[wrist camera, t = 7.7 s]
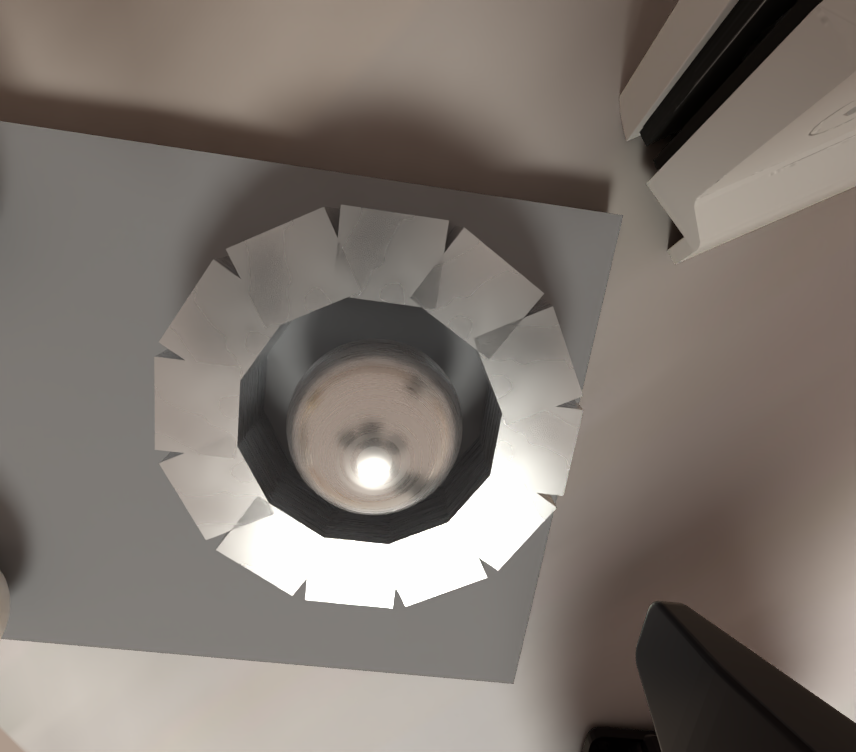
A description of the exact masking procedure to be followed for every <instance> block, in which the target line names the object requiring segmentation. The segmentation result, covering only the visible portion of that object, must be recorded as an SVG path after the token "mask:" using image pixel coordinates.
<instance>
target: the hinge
mask: <svg viewBox="0 0 856 752" xmlns="http://www.w3.org/2000/svg"><path fill="white" fill-rule="evenodd" d="M619 103H620V116H621V120H622V125H623V130H624V134H625V139H626V141H629V140H631V139H633V138H636V137H638V136H640V135H641V136H642V138H643V140H644V142H645V144H646V146H647V145H649V144H651V143H653V142H655V141H658V140H660V139H662V138H664V137H666V136H668V135H671V134H673V133H675V132H677V131H679V130H680V132H679V133H678V134H677V135H676V136H675V137H674V138H673V139H672V140H671V142H670V143H669V144H668V145H667V146H666V147H665V148H664V149H663V150H662V152H661V153H660V154H659V155H658V156H657V157H656V158H655V159H654V160H653V162H654V164H655V166H656V168H657V170H658V172H657V173H656V174H655V175H654V176H653V177H652V178H651V179H650V180H649V181H648V182H647V183H646V185H647V186H648V187H649V189H650V190H651V192H652V193H653V194H654V196H655V197H656V198H657V200H658V201H659V203H660V204H661V205H662V207H663V208H664V209H665V211H666V212H667V214H668V215H669V216H670V218H671V219H672V221H673V222H674V223H675V225H676V226H677V227H678V229H679V230H680V232H681V233H682V234H683V236H684V237H683V238H682V239H681V240H679V241H678V242H677V243H675V244H674V245H673V246H672V247H670V248H669V249H668V250H667V251H668V253H669V255H670V257H671V259H672V260H673V262H674V264H675V265H676V264H678V263H680V262H682V261H685V260H687V259H689V258H692V257H694V256H696V255H699V254H701V253H703V252H706V251H708V250H710V249H712V248H715V247H717V246H719V245H722V244H724V243H726V242H729V241H731V240H733V239H736V238H738V237H740V236H743V235H745V234H747V233H749V232H752V231H754V230H756V229H759V228H761V227H763V226H766V225H768V224H770V223H773V222H775V221H777V220H779V219H782V218H784V217H786V216H789V215H791V214H793V213H796V212H798V211H800V210H803V209H805V208H807V207H809V206H812V205H814V204H816V203H819V202H821V201H823V200H826V199H828V198H830V197H833V196H835V195H837V194H840V193H842V192H844V191H846V190H849V189H851V188H853V187H856V0H679V1H678V3H677V4H676V6H675V8H674V9H673V11H672V12H671V14H670V16H669V17H668V19H667V21H666V22H665V24H664V25H663V27H662V29H661V30H660V32H659V33H658V35H657V37H656V38H655V40H654V42H653V43H652V45H651V46H650V48H649V50H648V51H647V53H646V54H645V56H644V58H643V59H642V61H641V63H640V64H639V66H638V67H637V69H636V71H635V72H634V74H633V75H632V77H631V79H630V80H629V82H628V83H627V85H626V87H625V88H624V90H623V92H622V93H621V95H620V96H619Z"/></svg>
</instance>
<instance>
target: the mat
mask: <svg viewBox="0 0 856 752" xmlns="http://www.w3.org/2000/svg"><path fill="white" fill-rule="evenodd" d="M341 205H348V206H354V207H361V208H368V209H375V210H381V211H388V212H395V213H402V214H409V215H415V216H422V217H429V218H436V219H443V220H449V223H448V230H447V236H448V235H449V233H450V232H451V231H452V229H453V228H454V227H455V226H460V227H465V228H466V229H467V230H468V231H469V232H471V233H472V234H473V235H474V236H475V237H477V238H478V239H479V240H480V241H481V242H483V243H484V244H485V245H486V246H487V247H489V248H490V249H491V250H492V251H494V252H495V253H496V254H497V255H498V256H500V257H501V258H502V259H503V260H504V261H506V262H507V263H508V264H509V265H510V266H512V267H513V268H514V269H515V270H517V271H518V272H519V273H520V274H521V275H523V276H524V277H525V278H526V279H527V280H529V281H530V282H531V283H532V284H533V285H535V286H536V287H537V288H538V289H540V290H541V291H542V292H543V293H544V294H543V296H542V297H541V299H542V300H544V301H546V302H547V303H549V304H550V305H552V306H553V308H554V311H555V314H556V317H557V320H558V323H559V326H560V329H561V332H562V335H563V337H564V340H565V343H566V346H567V349H568V352H569V355H570V358H571V361H572V364H573V367H574V370H575V373H576V376H577V379H578V382H579V385H580V388H581V391H582V389H583V384H584V380H585V376H586V372H587V367H588V363H589V359H590V354H591V350H592V346H593V342H594V337H595V333H596V329H597V325H598V320H599V316H600V312H601V308H602V303H603V299H604V295H605V290H606V286H607V282H608V278H609V273H610V269H611V265H612V261H613V256H614V252H615V248H616V243H617V239H618V235H619V231H620V226H621V222H622V218H623V215H618V214H611V213H604V212H598V211H591V210H585V209H578V208H571V207H565V206H558V205H551V204H545V203H538V202H532V201H525V200H518V199H512V198H505V197H499V196H492V195H485V194H479V193H472V192H466V191H459V190H452V189H446V188H439V187H433V186H426V185H419V184H413V183H406V182H400V181H393V180H386V179H380V178H373V177H367V176H360V175H353V174H347V173H340V172H334V171H327V170H320V169H314V168H307V167H301V166H294V165H287V164H281V163H274V162H268V161H261V160H254V159H248V158H241V157H235V156H228V155H221V154H215V153H208V152H202V151H195V150H188V149H182V148H175V147H169V146H162V145H155V144H149V143H142V142H136V141H129V140H122V139H116V138H109V137H103V136H96V135H89V134H83V133H76V132H70V131H63V130H56V129H50V128H43V127H37V126H30V125H23V124H17V123H10V122H4V121H0V571H1V572H2V574H3V575H4V577H5V579H6V582H7V585H8V588H9V593H10V613H9V618H8V622H7V625H6V628H5V631H4V633H3V635H2V638H1V639H9V640H21V641H32V642H43V643H55V644H66V645H78V646H89V647H100V648H112V649H123V650H135V651H146V652H157V653H169V654H180V655H192V656H203V657H214V658H226V659H237V660H248V661H260V662H271V663H283V664H294V665H305V666H317V667H328V668H340V669H351V670H362V671H374V672H385V673H397V674H408V675H419V676H431V677H442V678H454V679H465V680H476V681H488V682H499V683H511V684H513V683H514V679H515V675H516V671H517V666H518V662H519V658H520V653H521V649H522V645H523V641H524V636H525V632H526V628H527V624H528V619H529V615H530V611H531V607H532V602H533V598H534V594H535V589H536V585H537V581H538V577H539V572H540V568H541V564H542V560H543V555H544V551H545V547H546V542H547V538H548V534H549V530H550V525H551V521H552V517H553V513H554V511H553V512H552V513H551V514H550V515H549V517H548V518H547V519H546V520H545V521H544V522H543V523H542V524H541V525H540V526H539V527H538V528H537V529H536V530H535V531H534V532H533V534H532V535H531V536H530V537H529V538H528V539H527V540H526V541H525V542H524V543H523V544H522V545H521V546H520V547H519V548H518V549H517V551H516V552H515V553H514V554H513V555H512V556H511V557H510V558H509V559H508V560H507V561H506V562H505V563H504V564H503V565H502V567H501V568H500V569H499V570H497V569H496V568H494V567H493V566H491V565H490V564H488V563H487V562H485V561H484V560H483V561H484V566H485V571H486V576H487V578H484V579H481V580H478V581H475V582H473V583H470V584H467V585H464V586H462V587H459V588H456V589H453V590H450V591H448V592H445V593H442V594H439V595H436V596H434V597H431V598H428V599H425V600H423V601H420V602H417V603H414V604H411V605H409V606H405V604H404V602H403V600H402V598H401V596H400V594H399V592H398V590H397V588H396V586H395V593H394V600H393V607H392V608H385V607H375V606H364V605H354V604H344V603H333V602H323V601H312V600H305V596H306V585H307V578H306V580H305V581H304V582H303V583H302V584H301V586H300V587H299V588H298V589H297V590H296V592H295V593H294V594H293V595H290V594H289V593H287V592H285V591H284V590H282V589H280V588H279V587H277V586H275V585H274V584H272V583H270V582H269V581H267V580H265V579H264V578H262V577H260V576H259V575H257V574H255V573H254V572H252V571H250V570H249V569H247V568H245V567H244V566H242V565H240V564H239V563H237V562H235V561H234V560H232V559H230V558H229V557H227V556H225V555H223V554H222V553H220V552H218V551H217V550H216V549H217V547H218V545H219V544H220V542H221V540H222V539H223V537H224V535H225V534H226V533H224V534H221V535H218V536H216V537H213V538H210V539H208V540H205V538H204V536H203V535H202V533H201V531H200V530H199V528H198V527H197V525H196V523H195V522H194V520H193V518H192V517H191V515H190V513H189V512H188V510H187V509H186V507H185V505H184V504H183V502H182V500H181V499H180V497H179V495H178V494H177V492H176V491H175V489H174V487H173V486H172V484H171V482H170V481H169V479H168V477H167V476H166V474H165V473H164V471H163V469H162V468H161V466H160V464H159V463H160V462H161V461H162V460H163V459H164V458H165V457H166V456H167V455H168V454H169V453H170V452H171V451H162V450H155V387H154V356H156V355H158V354H160V353H162V352H164V351H166V350H167V349H168V348H166V347H165V346H163V345H162V344H160V343H159V341H160V339H161V338H162V336H163V335H164V333H165V332H166V330H167V329H168V327H169V326H170V324H171V323H172V321H173V320H174V318H175V317H176V315H177V314H178V312H179V310H180V309H181V307H182V306H183V304H184V303H185V301H186V300H187V298H188V297H189V295H190V294H191V292H192V291H193V289H194V288H195V286H196V285H197V283H198V282H199V280H200V279H201V277H202V276H203V274H204V273H205V271H206V270H207V268H208V267H209V265H210V264H211V262H212V260H213V259H217V258H222V257H227V256H229V255H228V253H227V251H226V249H227V248H229V247H231V246H234V245H236V244H238V243H241V242H243V241H245V240H248V239H250V238H252V237H255V236H257V235H259V234H262V233H264V232H266V231H269V230H271V229H273V228H275V227H278V226H280V225H282V224H285V223H287V222H289V221H292V220H294V219H296V218H299V217H301V216H303V215H306V214H308V213H310V212H313V211H315V210H317V209H320V208H322V207H330V208H338V209H339V210H340V207H341ZM372 338H377V339H389V340H394V341H398V342H401V343H404V344H407V345H410V346H412V347H414V348H416V349H418V350H420V351H421V352H423V353H424V354H426V355H427V356H429V357H430V358H431V359H432V360H433V361H435V362H436V363H437V364H438V365H439V366H440V368H441V369H442V370H443V371H444V372H445V374H446V375H447V377H448V378H449V380H450V381H451V383H452V385H453V387H454V389H455V391H456V393H457V396H458V399H459V402H460V406H461V412H462V419H463V431H462V440H461V445H460V449H459V453H458V456H457V458H456V461H455V463H454V465H455V464H456V462H457V461H458V460H459V459H460V458H461V457H462V455H463V454H464V453H465V452H466V451H467V450H468V449H469V447H470V446H471V445H472V444H473V443H474V442H475V440H476V439H477V438H478V437H479V431H480V426H481V420H482V415H483V409H484V404H485V398H486V393H487V387H488V381H487V379H486V376H485V374H484V371H483V368H482V366H481V363H480V361H479V358H478V355H477V353H476V350H475V348H474V347H472V346H471V345H470V344H468V343H467V342H466V341H465V340H463V339H462V338H461V337H459V336H458V335H457V334H455V333H454V332H453V331H452V330H450V329H449V328H448V327H446V326H445V325H444V324H443V323H441V322H440V321H439V320H437V319H436V318H435V317H433V316H432V315H431V314H430V313H428V312H427V311H426V310H424V309H423V308H422V307H416V306H409V305H402V304H394V303H387V302H379V301H372V300H365V299H357V298H350V297H347V298H344V299H342V300H340V301H337V302H335V303H332V304H330V305H327V306H325V307H323V308H320V309H318V310H315V311H313V312H311V313H308V314H306V315H303V316H301V317H298V318H296V319H294V320H292V322H291V323H290V324H289V326H288V327H287V329H286V330H285V331H284V333H283V334H282V335H281V337H280V338H279V340H278V341H277V342H276V344H275V345H274V347H273V348H272V349H271V351H270V352H269V354H268V355H267V370H266V387H265V405H264V412H265V414H266V416H267V418H268V420H269V421H270V423H271V425H272V427H273V429H274V431H275V433H276V435H277V437H278V438H279V440H280V442H281V444H282V446H283V448H284V450H285V452H286V454H287V455H288V457H289V459H290V461H292V462H293V460H292V458H291V455H290V451H289V448H288V442H287V435H286V419H287V412H288V408H289V404H290V401H291V397H292V394H293V392H294V390H295V388H296V386H297V384H298V382H299V381H300V379H301V378H302V376H303V375H304V374H305V372H306V371H307V370H308V369H309V368H310V367H311V365H312V364H313V363H314V362H316V361H317V360H318V359H319V358H320V357H321V356H323V355H324V354H326V353H327V352H329V351H330V350H332V349H334V348H336V347H338V346H340V345H343V344H346V343H349V342H352V341H357V340H362V339H372ZM574 400H575V401H576V402H577V403H578V404H579V401H580V397H579V398H577V399H574ZM293 463H294V462H293ZM454 465H453V466H454ZM550 495H551V494H550ZM551 497H552V499H553V501H554V503H555V504H556V500H557V495H551Z"/></svg>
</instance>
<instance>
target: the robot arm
mask: <svg viewBox="0 0 856 752" xmlns="http://www.w3.org/2000/svg"><path fill="white" fill-rule="evenodd" d="M636 664H637V668H638V672H639V675H640V679H641V682H642V686H643V689H644V693H645V696H646V700H647V703H648V707H649V710H650V713H651V717H652V720H653V724H654V727H655V731H645V730H633V729H621V728H609V727H597V728H594V729H592V730H591V731H589V733H588V734H587V737H586V740H585V743H584V747H583V750H582V752H856V723H855V722H853V721H852V720H850V719H849V718H848V717H846V716H845V715H843V714H842V713H840V712H839V711H837V710H836V709H835V708H833V707H832V706H830V705H829V704H827V703H826V702H825V701H823V700H822V699H820V698H819V697H817V696H816V695H814V694H813V693H812V692H810V691H809V690H807V689H806V688H804V687H803V686H801V685H800V684H799V683H797V682H796V681H794V680H793V679H791V678H790V677H788V676H787V675H786V674H784V673H783V672H781V671H780V670H778V669H777V668H776V667H774V666H773V665H771V664H770V663H768V662H767V661H765V660H764V659H763V658H761V657H760V656H758V655H757V654H755V653H754V652H752V651H751V650H750V649H748V648H747V647H745V646H744V645H742V644H741V643H740V642H738V641H737V640H735V639H734V638H732V637H731V636H729V635H728V634H727V633H725V632H724V631H722V630H721V629H719V628H718V627H716V626H715V625H714V624H712V623H711V622H709V621H708V620H706V619H705V618H704V617H702V616H701V615H699V614H698V613H696V612H695V611H693V610H692V609H691V608H689V607H688V606H686V605H684V604H681V603H675V602H664V601H656V602H653V603H652V604H651V605H650V607H649V609H648V611H647V615H646V618H645V621H644V624H643V627H642V631H641V634H640V637H639V640H638V643H637V647H636Z"/></svg>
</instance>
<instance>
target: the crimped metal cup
mask: <svg viewBox="0 0 856 752" xmlns="http://www.w3.org/2000/svg"><path fill="white" fill-rule="evenodd" d="M448 223H449V220H443V219H436V218H429V217H422V216H415V215H409V214H402V213H395V212H388V211H381V210H375V209H368V208H361V207H354V206H348V205H341V207H340V210H339V209H338V208H330V207H322V208H320V209H317V210H315V211H313V212H310V213H308V214H306V215H303V216H301V217H299V218H296V219H294V220H292V221H289V222H287V223H285V224H282V225H280V226H278V227H275V228H273V229H271V230H269V231H266V232H264V233H262V234H259V235H257V236H255V237H252V238H250V239H248V240H245V241H243V242H241V243H238V244H236V245H234V246H231V247H229V248H227V249H226V251H227V253H228V255H229V256H227V257H222V258H217V259H213V260H212V262H211V264H210V265H209V267H208V268H207V270H206V271H205V273H204V274H203V276H202V277H201V279H200V280H199V282H198V283H197V285H196V286H195V288H194V289H193V291H192V292H191V294H190V295H189V297H188V298H187V300H186V301H185V303H184V304H183V306H182V307H181V309H180V310H179V312H178V314H177V315H176V317H175V318H174V320H173V321H172V323H171V324H170V326H169V327H168V329H167V330H166V332H165V333H164V335H163V336H162V338H161V339H160V341H159V343H160V344H162V345H163V346H165V347H166V348H168V349H167V350H166V351H164V352H162V353H160V354H158V355H156V356H154V387H155V450H162V451H171V452H170V453H169V454H168V455H167V456H166V457H165V458H164V459H163V460H162V461H161V462H160V463H159V464H160V466H161V468H162V469H163V471H164V473H165V474H166V476H167V477H168V479H169V481H170V482H171V484H172V486H173V487H174V489H175V491H176V492H177V494H178V495H179V497H180V499H181V500H182V502H183V504H184V505H185V507H186V509H187V510H188V512H189V513H190V515H191V517H192V518H193V520H194V522H195V523H196V525H197V527H198V528H199V530H200V531H201V533H202V535H203V536H204V538H205V540H208V539H210V538H213V537H216V536H218V535H221V534H224V533H226V534H225V535H224V537H223V539H222V540H221V542H220V544H219V545H218V547H217V549H216V550H217V551H218V552H220V553H222V554H223V555H225V556H227V557H229V558H230V559H232V560H234V561H235V562H237V563H239V564H240V565H242V566H244V567H245V568H247V569H249V570H250V571H252V572H254V573H255V574H257V575H259V576H260V577H262V578H264V579H265V580H267V581H269V582H270V583H272V584H274V585H275V586H277V587H279V588H280V589H282V590H284V591H285V592H287V593H289V594H290V595H293V594H294V593H295V592H296V590H297V589H298V588H299V587H300V586H301V584H302V583H303V582H304V581H305V580H306V578H307V585H306V596H305V600H312V601H323V602H333V603H344V604H354V605H364V606H375V607H385V608H392V607H393V600H394V593H395V586H396V588H397V590H398V592H399V594H400V596H401V598H402V600H403V602H404V604H405V606H409V605H411V604H414V603H417V602H420V601H423V600H425V599H428V598H431V597H434V596H436V595H439V594H442V593H445V592H448V591H450V590H453V589H456V588H459V587H462V586H464V585H467V584H470V583H473V582H475V581H478V580H481V579H484V578H487V576H486V571H485V566H484V561H485V562H487V563H488V564H490V565H491V566H493V567H494V568H496V569H497V570H499V569H500V568H501V567H502V565H503V564H504V563H505V562H506V561H507V560H508V559H509V558H510V557H511V556H512V555H513V554H514V553H515V552H516V551H517V549H518V548H519V547H520V546H521V545H522V544H523V543H524V542H525V541H526V540H527V539H528V538H529V537H530V536H531V535H532V534H533V532H534V531H535V530H536V529H537V528H538V527H539V526H540V525H541V524H542V523H543V522H544V521H545V520H546V519H547V518H548V517H549V515H550V514H551V513H552V512H553V511H554V510H555V509H556V508H557V507H556V505H555V503H554V501H553V499H552V497H551V495H560V496H563V495H564V491H565V487H566V482H567V478H568V474H569V470H570V466H571V461H572V457H573V453H574V449H575V445H576V440H577V436H578V432H579V428H580V424H581V419H582V415H583V411H584V410H583V409H582V408H581V407H580V405H579V404H578V403H577V402H576V401H575V400H574V399H577V398H579V397H582V396H583V394H582V391H581V388H580V385H579V382H578V379H577V376H576V373H575V370H574V367H573V364H572V361H571V358H570V355H569V352H568V349H567V346H566V343H565V340H564V337H563V335H562V332H561V329H560V326H559V323H558V320H557V317H556V314H555V311H554V308H553V306H552V305H550V304H549V303H547V302H546V301H544V300H542V299H541V297H542V296H543V294H544V293H543V292H542V291H541V290H540V289H538V288H537V287H536V286H535V285H533V284H532V283H531V282H530V281H529V280H527V279H526V278H525V277H524V276H523V275H521V274H520V273H519V272H518V271H517V270H515V269H514V268H513V267H512V266H510V265H509V264H508V263H507V262H506V261H504V260H503V259H502V258H501V257H500V256H498V255H497V254H496V253H495V252H494V251H492V250H491V249H490V248H489V247H487V246H486V245H485V244H484V243H483V242H481V241H480V240H479V239H478V238H477V237H475V236H474V235H473V234H472V233H471V232H469V231H468V230H467V229H466V228H465V227H460V226H455V227H454V228H453V229H452V231H451V232H450V233H449V235H448V236H447V230H448ZM347 297H350V298H357V299H365V300H372V301H379V302H387V303H394V304H402V305H409V306H416V307H422V308H423V309H424V310H426V311H427V312H428V313H430V314H431V315H432V316H433V317H435V318H436V319H437V320H439V321H440V322H441V323H443V324H444V325H445V326H446V327H448V328H449V329H450V330H452V331H453V332H454V333H455V334H457V335H458V336H459V337H461V338H462V339H463V340H465V341H466V342H467V343H468V344H470V345H471V346H472V347H474V348H475V350H476V353H477V355H478V358H479V361H480V363H481V366H482V368H483V371H484V374H485V376H486V379H487V381H488V387H487V393H486V398H485V404H484V409H483V415H482V420H481V426H480V431H479V437H478V438H477V439H476V440H475V442H474V443H473V444H472V445H471V446H470V447H469V449H468V450H467V451H466V452H465V453H464V454H463V455H462V457H461V458H460V459H459V460H458V461H457V462H456V464H455V465H454V466H453V467H452V469H451V470H450V472H449V474H448V476H447V477H446V478H445V480H444V481H443V482H442V484H441V485H440V486H439V487H438V488H437V489H436V490H435V491H434V492H432V493H431V494H430V495H429V496H428V497H426V498H425V499H424V500H422V501H420V502H419V503H417V504H415V505H413V506H411V507H409V508H407V509H404V510H401V511H398V512H394V513H389V514H382V515H365V514H358V513H353V512H349V511H346V510H343V509H341V508H338V507H336V506H334V505H332V504H330V503H329V502H327V501H326V500H324V499H323V498H321V497H320V496H319V495H317V494H316V493H315V492H314V491H313V490H312V489H311V488H310V487H309V486H308V485H307V484H306V482H305V481H304V480H303V479H302V477H301V475H300V474H299V472H298V471H297V469H296V467H295V464H294V463H293V462H292V461H290V459H289V457H288V455H287V454H286V452H285V450H284V448H283V446H282V444H281V442H280V440H279V438H278V437H277V435H276V433H275V431H274V429H273V427H272V425H271V423H270V421H269V420H268V418H267V416H266V414H265V412H264V405H265V387H266V370H267V355H268V354H269V352H270V351H271V349H272V348H273V347H274V345H275V344H276V342H277V341H278V340H279V338H280V337H281V335H282V334H283V333H284V331H285V330H286V329H287V327H288V326H289V324H290V323H291V322H292V320H294V319H296V318H298V317H301V316H303V315H306V314H308V313H311V312H313V311H315V310H318V309H320V308H323V307H325V306H327V305H330V304H332V303H335V302H337V301H340V300H342V299H344V298H347ZM550 494H551V495H550ZM483 560H484V561H483Z"/></svg>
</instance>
